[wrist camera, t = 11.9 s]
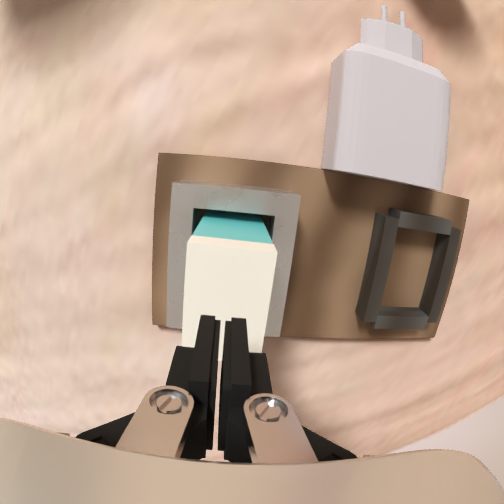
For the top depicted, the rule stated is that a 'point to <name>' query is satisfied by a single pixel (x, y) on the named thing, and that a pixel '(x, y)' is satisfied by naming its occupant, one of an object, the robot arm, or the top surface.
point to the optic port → (237, 200)
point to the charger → (387, 108)
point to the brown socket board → (338, 247)
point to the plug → (228, 275)
